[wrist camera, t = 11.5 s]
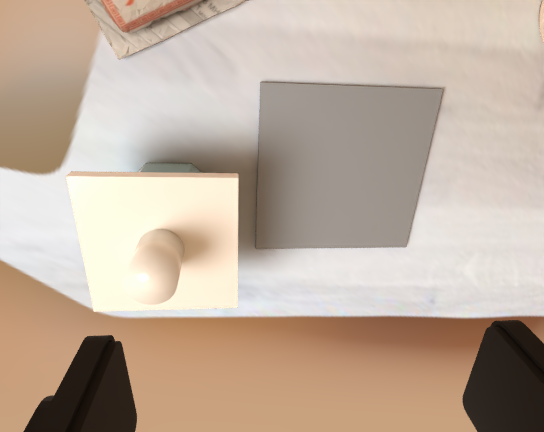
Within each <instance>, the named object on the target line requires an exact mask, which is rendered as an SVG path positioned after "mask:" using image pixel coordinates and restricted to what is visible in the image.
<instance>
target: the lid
mask: <svg viewBox="0 0 544 432" xmlns="http://www.w3.org/2000/svg"><path fill="white" fill-rule="evenodd" d="M66 179H67V184H68V189H69V193H70V198H71V203H72V208H73V213H74V218H75V222H76V227H77V232H78V237H79V242H80V247H81V251H82V256H83V261H84V266H85V271H86V276H87V280H88V285H89V290H90V295H91V300H92V304H93V309H94V312H95V311H131V310H167V309H203V308H238V173H160V172H70V173H69V174H68V175H67V176H66Z"/></svg>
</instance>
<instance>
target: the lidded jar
mask: <svg viewBox="0 0 544 432" xmlns="http://www.w3.org/2000/svg"><path fill="white" fill-rule="evenodd" d="M539 27H540V34H541V38H542V41H543V43H544V0H542V3H541V6H540V12H539Z"/></svg>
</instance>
